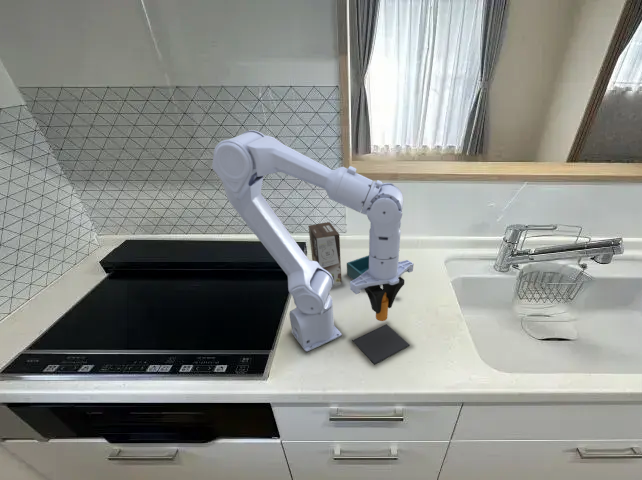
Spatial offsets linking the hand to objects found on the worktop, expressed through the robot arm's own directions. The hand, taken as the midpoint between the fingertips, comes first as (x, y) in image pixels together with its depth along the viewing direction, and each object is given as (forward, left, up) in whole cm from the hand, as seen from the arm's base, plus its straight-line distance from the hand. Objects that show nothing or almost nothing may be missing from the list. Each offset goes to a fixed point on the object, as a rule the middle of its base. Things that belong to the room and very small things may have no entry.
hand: (381, 308), depth 69 cm
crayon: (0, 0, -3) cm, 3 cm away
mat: (-1, -1, -10) cm, 10 cm away
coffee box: (+2, +29, -10) cm, 31 cm away
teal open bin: (+14, +23, -10) cm, 29 cm away
